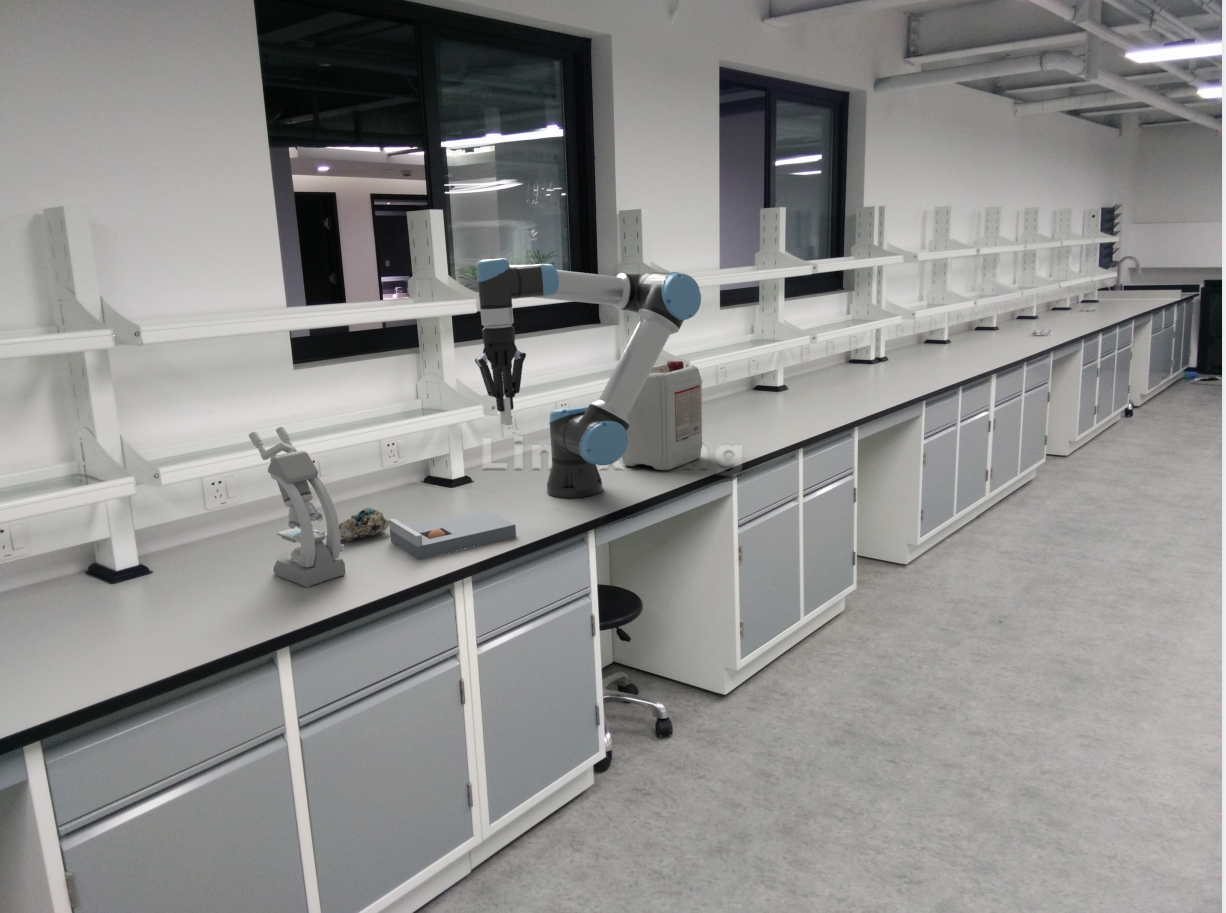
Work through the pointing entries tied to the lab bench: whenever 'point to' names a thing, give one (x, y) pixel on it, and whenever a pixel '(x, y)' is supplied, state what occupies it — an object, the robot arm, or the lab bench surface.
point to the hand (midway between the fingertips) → (506, 423)
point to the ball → (436, 533)
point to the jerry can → (666, 418)
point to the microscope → (303, 515)
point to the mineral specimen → (363, 524)
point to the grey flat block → (450, 533)
